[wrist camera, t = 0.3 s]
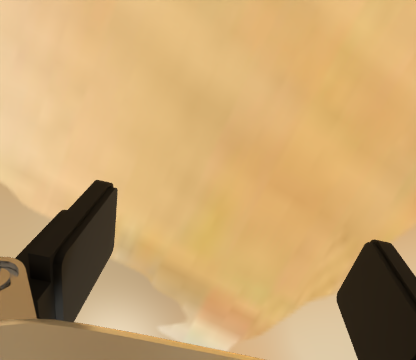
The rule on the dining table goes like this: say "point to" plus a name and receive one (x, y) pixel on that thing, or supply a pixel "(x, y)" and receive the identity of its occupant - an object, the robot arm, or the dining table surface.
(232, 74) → the dining table surface
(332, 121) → the dining table surface
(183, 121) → the dining table surface
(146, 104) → the dining table surface
